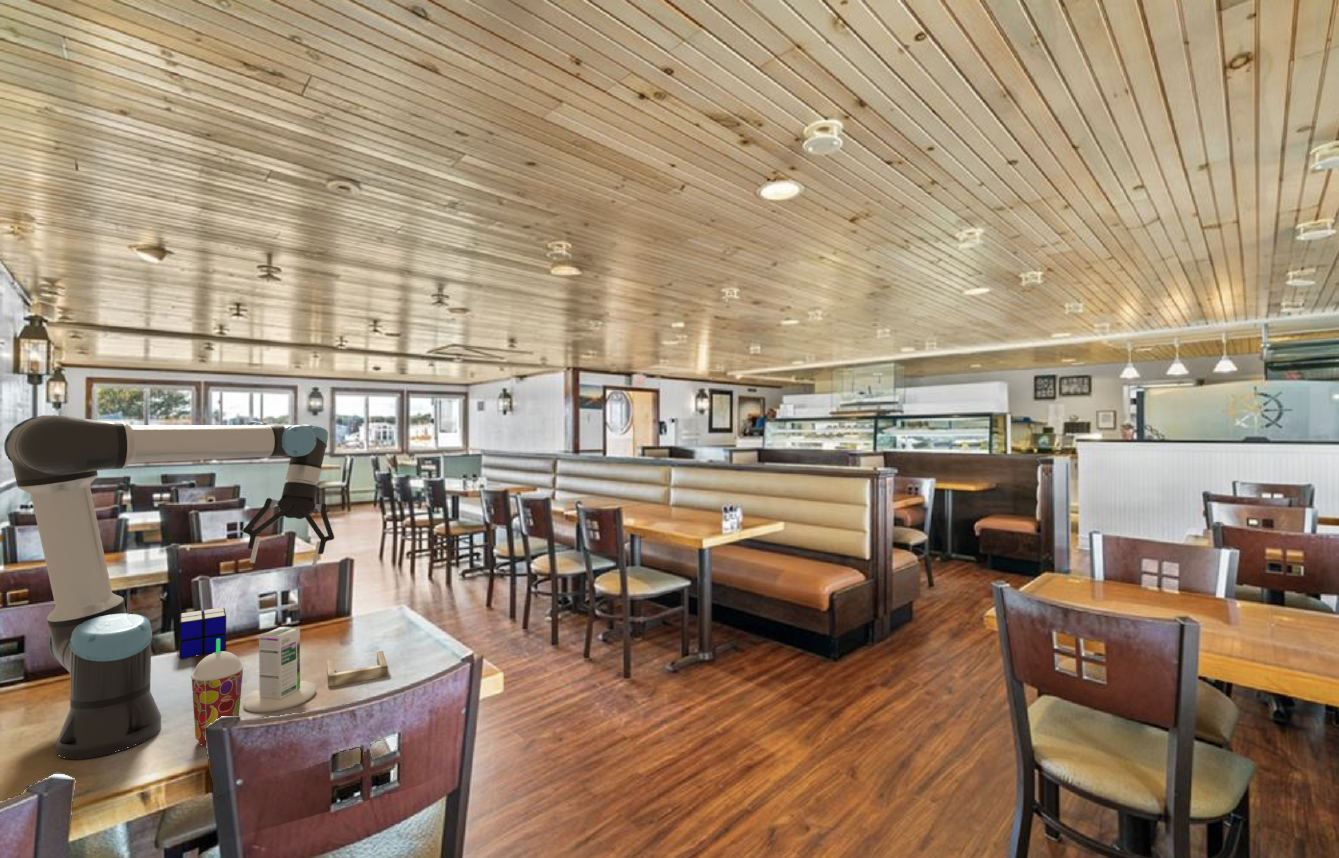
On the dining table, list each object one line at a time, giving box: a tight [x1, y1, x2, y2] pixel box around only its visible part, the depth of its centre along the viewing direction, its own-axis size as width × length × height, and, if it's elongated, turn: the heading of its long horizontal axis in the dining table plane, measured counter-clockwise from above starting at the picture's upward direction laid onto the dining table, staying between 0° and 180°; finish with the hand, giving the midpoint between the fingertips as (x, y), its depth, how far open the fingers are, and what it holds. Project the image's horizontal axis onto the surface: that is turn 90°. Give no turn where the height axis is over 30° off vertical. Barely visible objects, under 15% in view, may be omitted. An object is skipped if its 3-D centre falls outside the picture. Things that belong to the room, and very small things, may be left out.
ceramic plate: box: [242, 680, 317, 713], centre depth 137 cm, size 14×14×1 cm
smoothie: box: [190, 638, 244, 747], centre depth 119 cm, size 8×8×20 cm
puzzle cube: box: [178, 607, 227, 660], centre depth 165 cm, size 10×10×10 cm
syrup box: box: [258, 626, 301, 700], centre depth 137 cm, size 6×6×14 cm
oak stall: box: [326, 650, 389, 688], centre depth 151 cm, size 13×12×2 cm
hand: (283, 565), depth 152 cm, fingers open, 13 cm apart
